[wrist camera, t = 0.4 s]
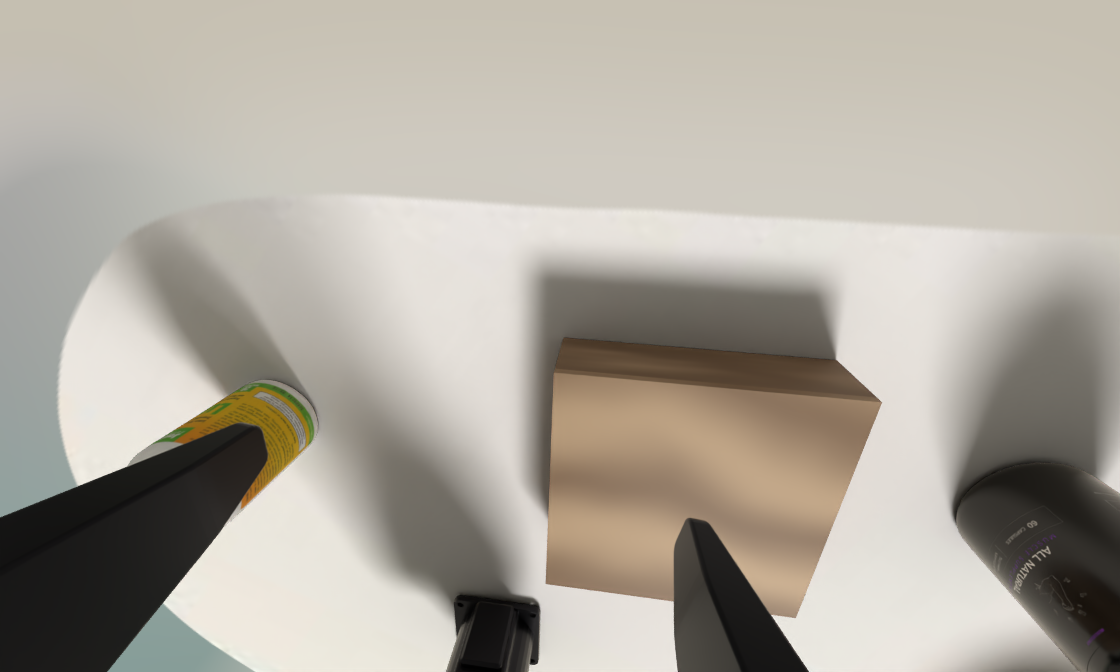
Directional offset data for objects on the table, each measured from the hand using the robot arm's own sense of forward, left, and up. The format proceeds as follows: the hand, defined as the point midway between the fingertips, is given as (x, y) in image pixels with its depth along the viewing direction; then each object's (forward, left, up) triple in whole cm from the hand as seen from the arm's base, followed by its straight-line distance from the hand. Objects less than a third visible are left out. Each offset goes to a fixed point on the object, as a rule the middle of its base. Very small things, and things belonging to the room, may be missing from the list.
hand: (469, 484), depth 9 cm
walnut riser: (-10, -7, -14) cm, 19 cm away
